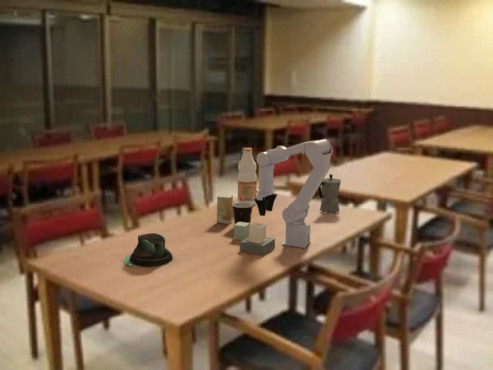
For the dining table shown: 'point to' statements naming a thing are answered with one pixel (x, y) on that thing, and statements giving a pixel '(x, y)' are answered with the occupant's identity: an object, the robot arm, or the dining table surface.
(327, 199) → the coffeepot
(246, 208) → the coffee mug
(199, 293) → the dining table surface
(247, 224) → the sage green block
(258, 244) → the charcoal base block
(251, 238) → the cream block
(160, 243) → the dark fedora hat
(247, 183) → the fruit juice
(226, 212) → the skincare box
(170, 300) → the dining table surface
